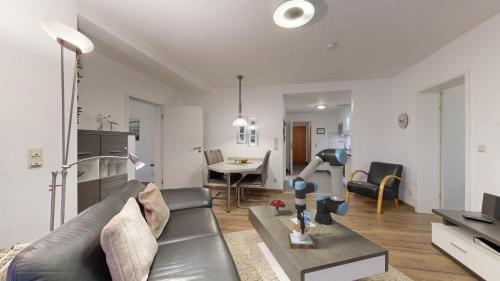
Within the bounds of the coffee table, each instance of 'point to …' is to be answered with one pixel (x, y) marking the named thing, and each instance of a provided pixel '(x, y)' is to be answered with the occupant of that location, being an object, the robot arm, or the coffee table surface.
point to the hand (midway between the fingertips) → (300, 233)
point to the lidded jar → (297, 231)
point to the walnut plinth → (301, 242)
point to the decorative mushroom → (277, 206)
